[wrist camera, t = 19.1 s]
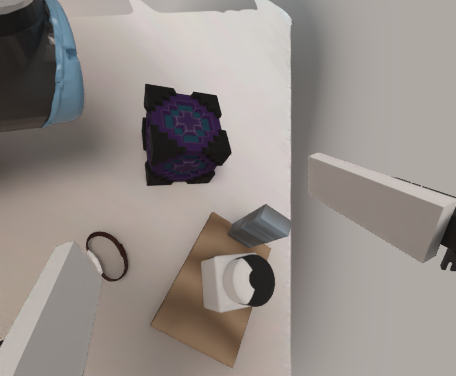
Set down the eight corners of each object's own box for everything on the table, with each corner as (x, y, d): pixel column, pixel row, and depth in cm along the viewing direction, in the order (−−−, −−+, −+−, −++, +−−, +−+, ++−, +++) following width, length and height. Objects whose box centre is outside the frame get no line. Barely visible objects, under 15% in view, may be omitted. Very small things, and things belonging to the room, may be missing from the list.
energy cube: (141, 131, 42) (145, 83, 32) (198, 135, 47) (216, 95, 37) (146, 185, 38) (153, 150, 28) (208, 183, 43) (231, 152, 33)
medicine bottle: (237, 257, 38) (275, 247, 28) (243, 300, 35) (287, 306, 26) (200, 260, 35) (228, 251, 25) (203, 308, 33) (235, 318, 23)
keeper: (230, 366, 32) (281, 407, 21) (150, 324, 30) (162, 347, 19) (268, 249, 43) (315, 237, 32) (211, 213, 41) (240, 187, 30)
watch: (77, 245, 30) (72, 240, 27) (110, 227, 33) (108, 221, 30) (104, 289, 30) (102, 290, 27) (136, 268, 32) (136, 266, 29)
